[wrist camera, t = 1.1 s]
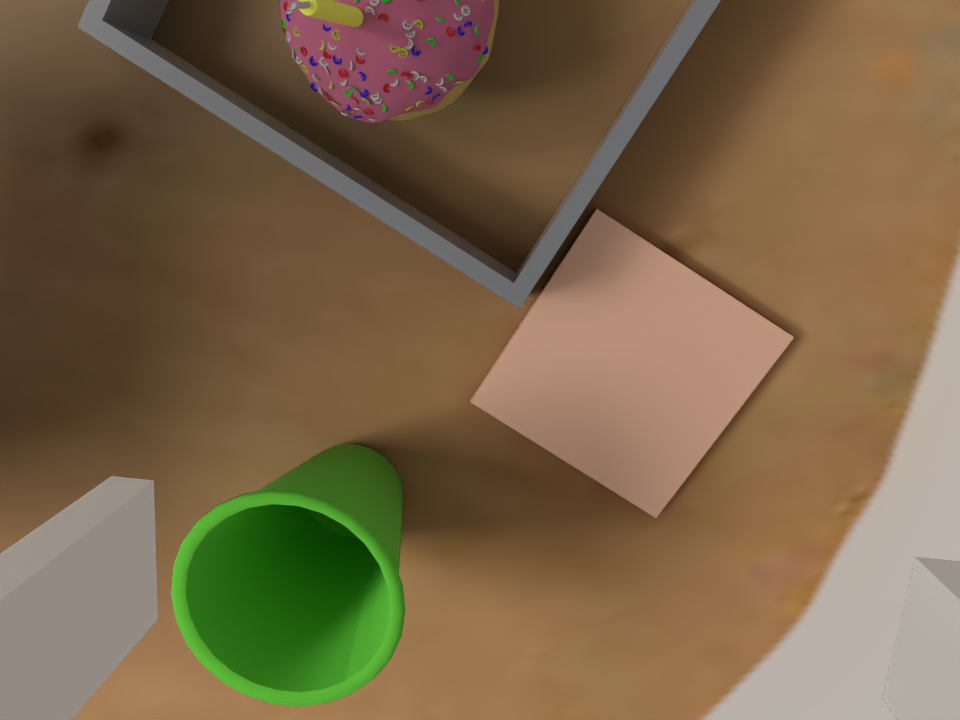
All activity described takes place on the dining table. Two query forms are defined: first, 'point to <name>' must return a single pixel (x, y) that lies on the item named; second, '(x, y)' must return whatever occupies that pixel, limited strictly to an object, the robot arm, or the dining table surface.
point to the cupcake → (390, 52)
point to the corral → (129, 30)
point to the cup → (298, 581)
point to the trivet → (629, 365)
